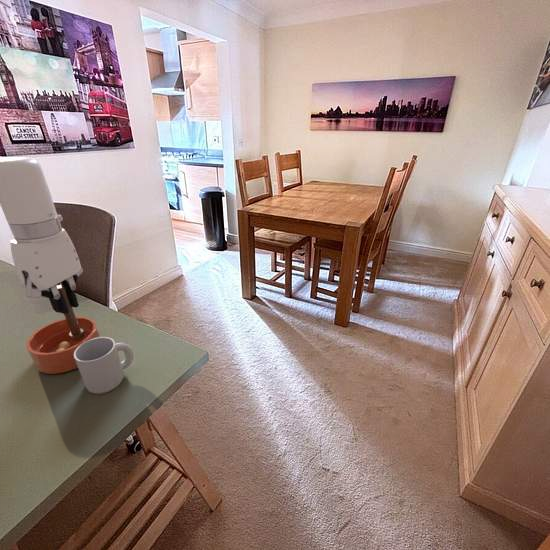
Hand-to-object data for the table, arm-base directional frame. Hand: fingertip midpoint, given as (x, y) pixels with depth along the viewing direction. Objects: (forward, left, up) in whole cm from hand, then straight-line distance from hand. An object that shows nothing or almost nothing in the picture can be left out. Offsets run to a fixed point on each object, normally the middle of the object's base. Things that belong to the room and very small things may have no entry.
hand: (67, 308), depth 65 cm
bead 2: (-4, -1, -11) cm, 12 cm away
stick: (0, 0, -8) cm, 8 cm away
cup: (+8, -10, -13) cm, 18 cm away
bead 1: (-4, +1, -11) cm, 12 cm away
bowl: (-3, 0, -13) cm, 13 cm away
